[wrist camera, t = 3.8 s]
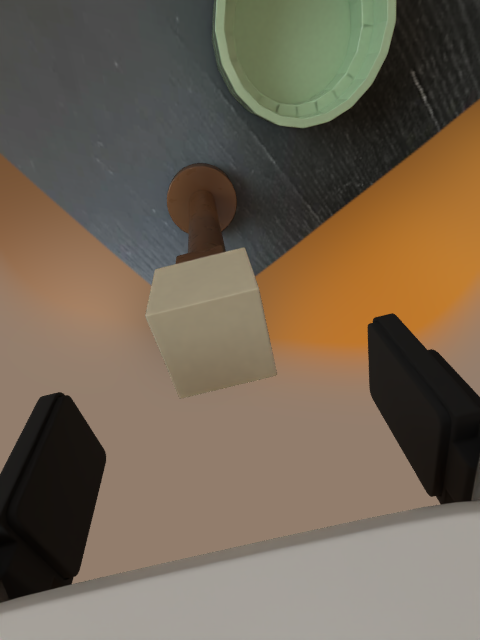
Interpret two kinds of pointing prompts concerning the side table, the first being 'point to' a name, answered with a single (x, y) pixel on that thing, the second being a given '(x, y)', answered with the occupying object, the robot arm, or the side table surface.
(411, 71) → the side table surface
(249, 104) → the green round bowl
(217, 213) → the stand
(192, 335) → the block
